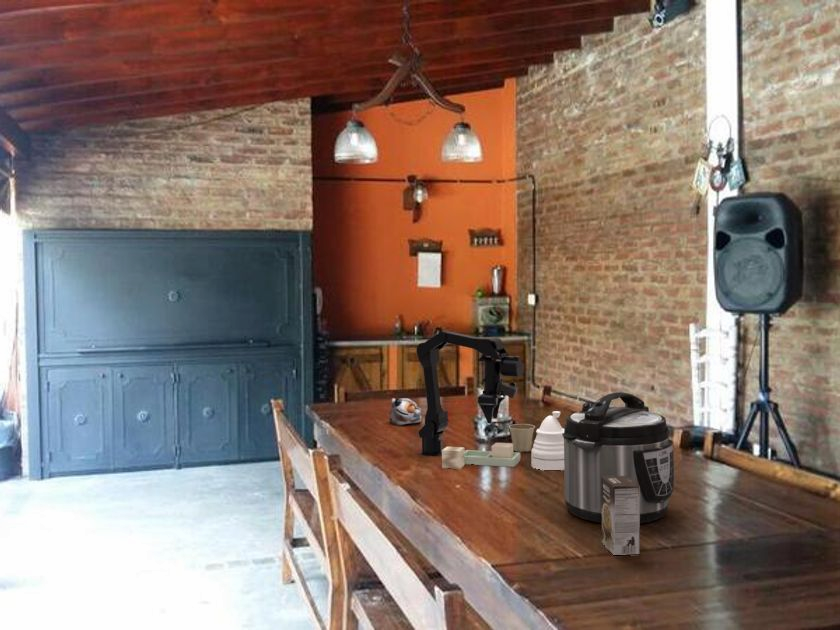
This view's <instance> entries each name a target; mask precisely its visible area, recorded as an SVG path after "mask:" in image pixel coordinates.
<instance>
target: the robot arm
mask: <svg viewBox="0 0 840 630" xmlns="http://www.w3.org/2000/svg"><path fill="white" fill-rule="evenodd" d="M447 344H450V345H454V346H455V345H456V346H460V347H464V348H468V349H469V348H470V349H472V350H475V351H476V352H478V353H480V354H481V356H480V357H479V358H478V359H477V361H478V362H482V363H483V378H482V383H483V390H482V393H481V394H479V396H478V397H477V404H478V406H479V407H480V409H481V411H482V413H483V415H484V417H485V420H486V422H487V424H492V420H493V419H497V418H498V415H499V411H500V406H501V403H502V402H503V401H504V400H505V399H506V397H509V398H511V399H514V398H516V395H517V392H518V390H519V387H518V386H517V382H515V381H511V382H509V383H508V382H504V378H503V377H502V376H504V377H516V378H521V377H522V375H523V374H524V369H525V368H524V367H525V366H524V364H523V361H522V358H521V356H519V355H516V356H510V354H509V352H508V351H507V350H506V348H505V347H504V343H503V341H502V339H501V338H499V337H491V336H490V337H486V336H485V337H478V336H473V335H468V334H463V333H459V332H454V331H453V332H452V331H450V330H447V329H446V330H441V331H439V332H438V333H437V334H435V335H433V337H431V338H429V339H427V340H426V341H425V342H420V343H418V345H417V346H416V350H415V351H416V356H417V360H418V362H419V363H420V365H421V367H422V369H423V370H422V371H423V378H424V379H423V381H424V388H425V397H426V406H427V409H426V411H425V415H424V424H423V426H422V427H421V428H420V429H419V431H418V436H419V438H420V439H421V452H420V455H426V456H427V455H428V456H439V455H440V454H442V450H443V449H444V447H443V446H444V445H443V444H444V442H443V441H444V440H443V439H442V435H444V432H445V430H446V429H447V428H448V424H449V422H450V420H449V416H448V415H449V413H448V410H444V409H443V407H442V404H441V395H440V394H441V393H440V386H439V375H438V363H439V360H440V351H441V350H442V349H444V347H445V346H446V345H447Z"/></svg>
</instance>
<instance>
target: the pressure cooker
mask: <svg viewBox="0 0 840 630" xmlns="http://www.w3.org/2000/svg"><path fill="white" fill-rule="evenodd" d="M616 399H621V401H622V402H623V404H624V406H615V407H610V406H611V403H612V401H613V400H616ZM666 419H667V418H666V417H664V415H661V414H659V413H655V412H650V409H649V406H646V405H645V401H643V400H642V399H641V398H640V397H638V396H636V395H633V394H631V393H628V392H612V393H608V394H606V395H604V396H602V397H600V398H599V399H597V400H596V401H595V402H594V401H586V402H584V403H583V404H582V408H581V410H580V411H576V412H572V413H570V414H568V415H567V416H566V419H565V420H566V424H564V425H563V426H564V427H563V429H564V433H562V435H563V438H564V470H563V471H564V475H563V477H564V501H565V504H566V507H567V508H568V510H569V511H570V513H571V514H572V515H574V516H576V517H578V518H580V519H583V520H586V521H591V522H596V523H601V524H602V507H601V477H602V476H627V477H629V478H630V479H631V480H633V481H634V482H635V483H637V484H638V485H639V486H640V524H645V523H650V522H653V521H656V520H659V519H661V518H662V517H664V516H665V515H666V513H667V512H668V508H669V505H670V498H671V495H672V493H673V491H674V488H675V487H674V486H675V483H674V482H675V469H674V467H675V464H674V463H675V460H674V441H673V440H672V439H670V435H669V433H670V432H669V427H668V426H667V420H666Z"/></svg>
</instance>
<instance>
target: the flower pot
mask: <svg viewBox="0 0 840 630" xmlns="http://www.w3.org/2000/svg"><path fill="white" fill-rule="evenodd" d="M535 428H536V426H535V425H533V424H529V423H516V424H510V425H509V426H508V429H509V432H510V435H511V441H512V442H511V443H513V451H515V452H516V453H523V452H531V450H532V446H533V444H532V443H533V435H534V431H535Z"/></svg>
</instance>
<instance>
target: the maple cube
mask: <svg viewBox="0 0 840 630" xmlns="http://www.w3.org/2000/svg"><path fill="white" fill-rule="evenodd" d="M464 451H465V447H463V446H446V447H443V450H442V453H441V469H447V468H451V470H461V469H462V468H463V467H465V465H466V464H465V453H464Z"/></svg>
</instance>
